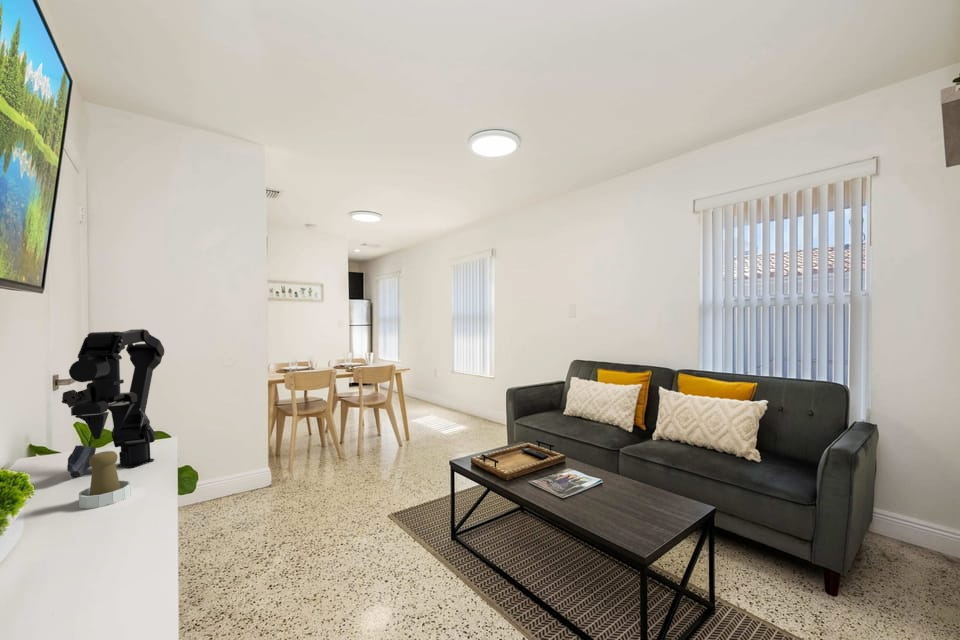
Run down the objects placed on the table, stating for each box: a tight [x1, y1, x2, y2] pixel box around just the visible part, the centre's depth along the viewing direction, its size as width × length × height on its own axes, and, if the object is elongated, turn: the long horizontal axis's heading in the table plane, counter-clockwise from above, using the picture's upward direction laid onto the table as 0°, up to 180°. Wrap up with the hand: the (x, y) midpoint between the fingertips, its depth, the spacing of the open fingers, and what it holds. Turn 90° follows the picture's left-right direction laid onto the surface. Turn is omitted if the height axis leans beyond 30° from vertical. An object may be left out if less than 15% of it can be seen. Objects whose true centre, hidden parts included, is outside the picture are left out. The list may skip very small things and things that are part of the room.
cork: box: [89, 450, 121, 496], centre depth 102 cm, size 6×6×11 cm
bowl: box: [78, 479, 132, 510], centre depth 102 cm, size 9×9×3 cm
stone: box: [66, 444, 97, 477], centre depth 118 cm, size 14×6×10 cm, turn 44°
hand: (107, 434), depth 113 cm, fingers open, 9 cm apart
